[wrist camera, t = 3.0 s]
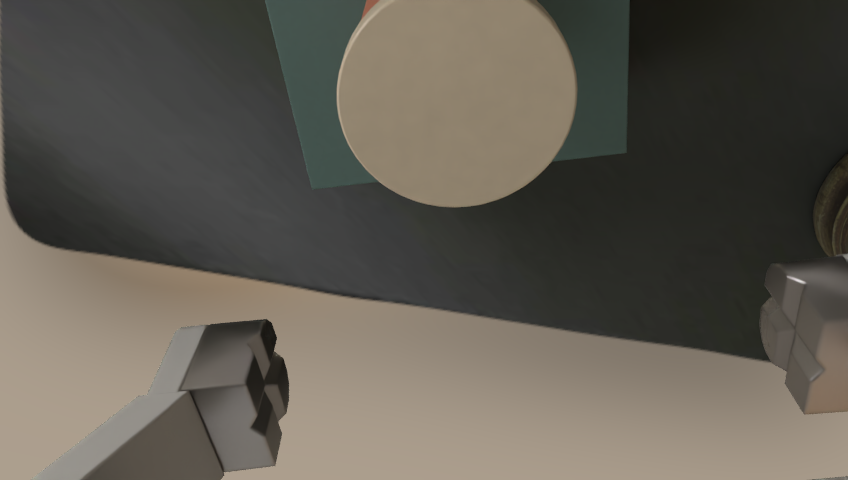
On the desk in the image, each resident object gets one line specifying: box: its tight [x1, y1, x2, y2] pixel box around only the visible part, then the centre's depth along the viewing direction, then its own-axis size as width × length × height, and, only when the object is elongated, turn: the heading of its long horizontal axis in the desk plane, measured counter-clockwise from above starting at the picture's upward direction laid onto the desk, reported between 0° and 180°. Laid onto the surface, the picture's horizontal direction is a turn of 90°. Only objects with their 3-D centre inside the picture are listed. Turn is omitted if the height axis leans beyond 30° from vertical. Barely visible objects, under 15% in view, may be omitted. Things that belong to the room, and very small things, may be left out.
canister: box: [337, 0, 578, 207], centre depth 23 cm, size 7×7×9 cm
